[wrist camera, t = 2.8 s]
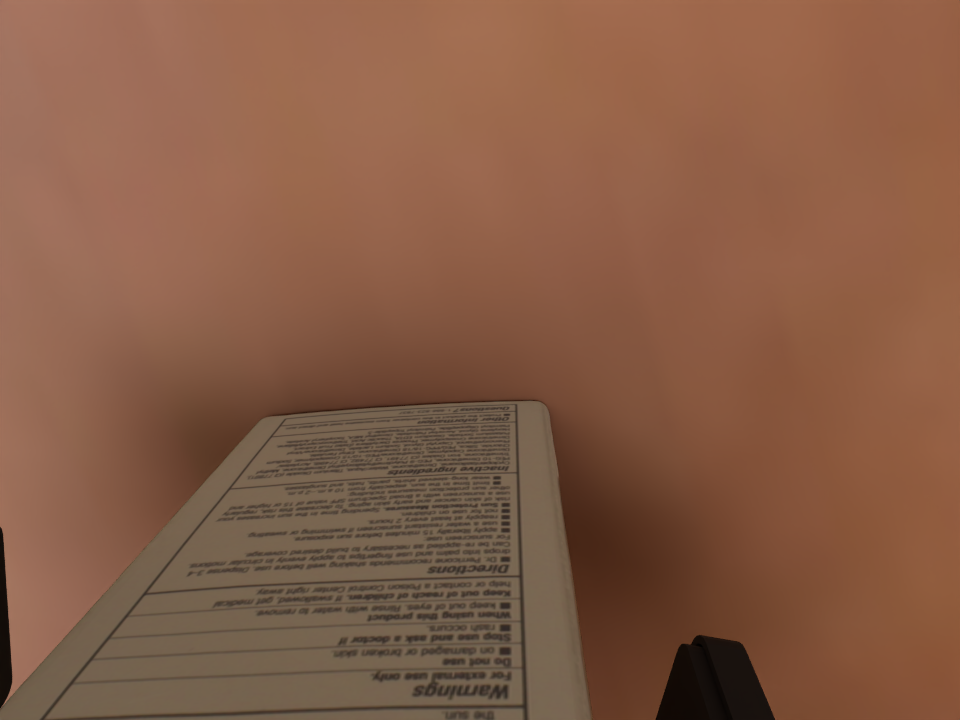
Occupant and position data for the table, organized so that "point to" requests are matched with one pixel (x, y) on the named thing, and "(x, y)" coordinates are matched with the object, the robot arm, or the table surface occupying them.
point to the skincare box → (344, 582)
